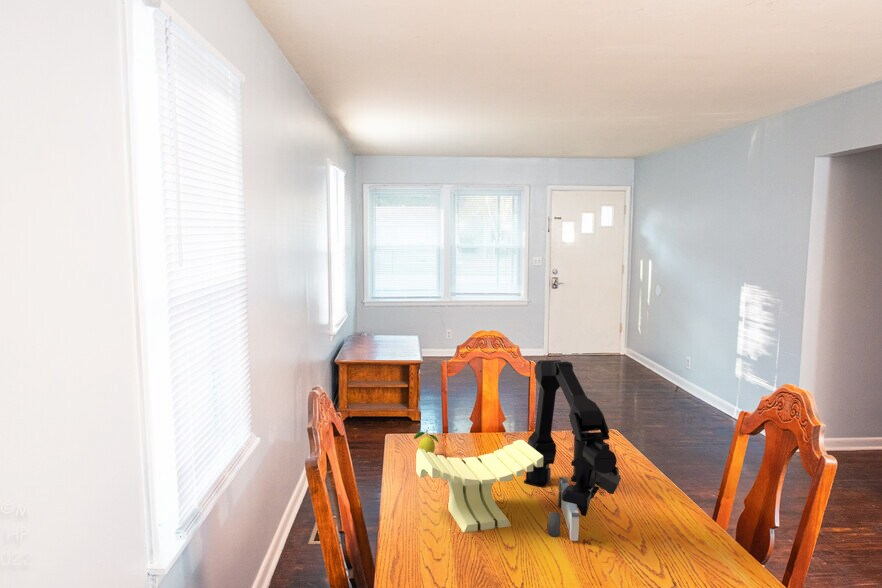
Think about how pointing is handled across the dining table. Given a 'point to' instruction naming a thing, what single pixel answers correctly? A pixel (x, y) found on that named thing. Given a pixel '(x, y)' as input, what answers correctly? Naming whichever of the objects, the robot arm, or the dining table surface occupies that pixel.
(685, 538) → the dining table surface
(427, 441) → the lemon
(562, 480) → the gate post
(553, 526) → the gate stop
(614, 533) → the dining table surface
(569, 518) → the gate
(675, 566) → the dining table surface
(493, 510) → the slatted curved stool
